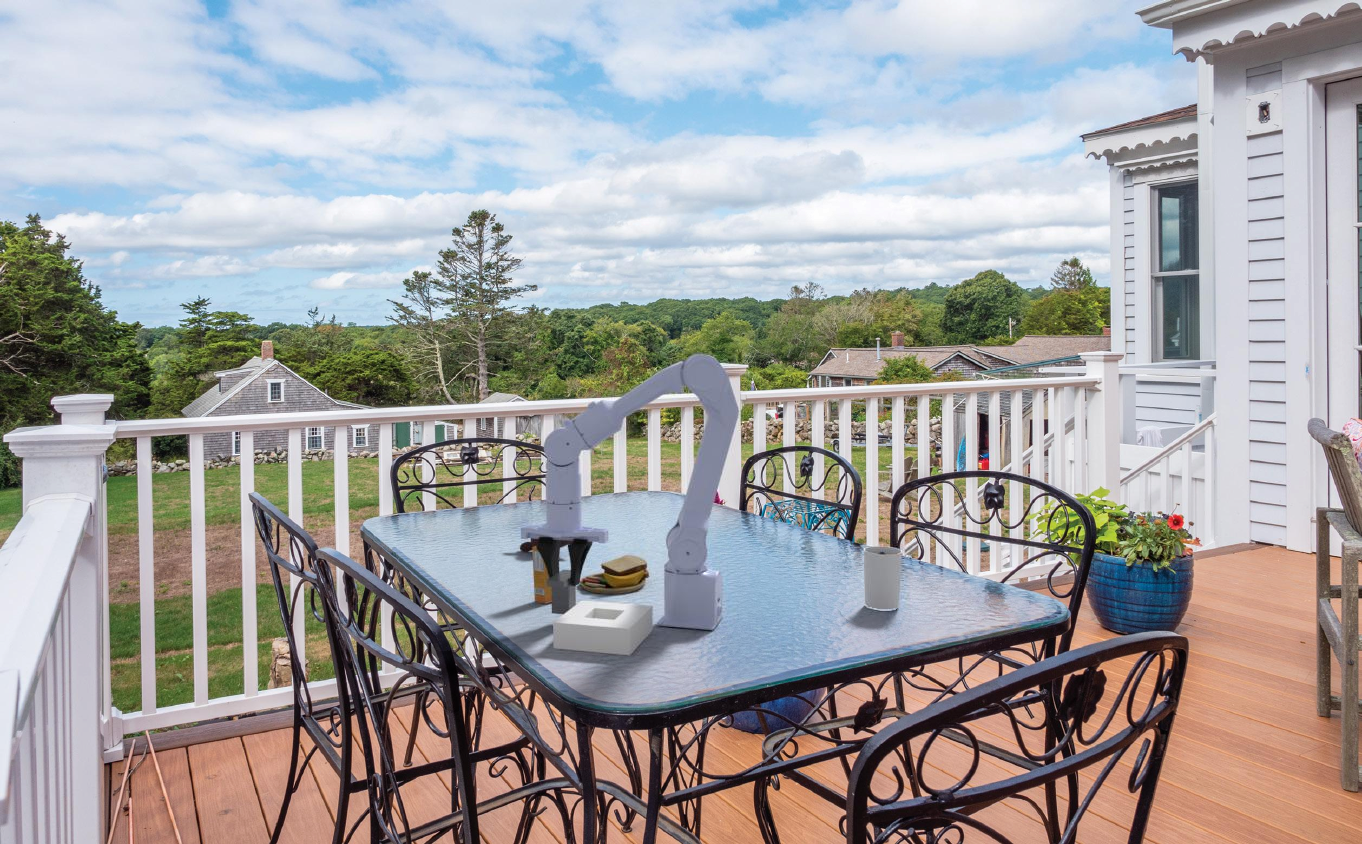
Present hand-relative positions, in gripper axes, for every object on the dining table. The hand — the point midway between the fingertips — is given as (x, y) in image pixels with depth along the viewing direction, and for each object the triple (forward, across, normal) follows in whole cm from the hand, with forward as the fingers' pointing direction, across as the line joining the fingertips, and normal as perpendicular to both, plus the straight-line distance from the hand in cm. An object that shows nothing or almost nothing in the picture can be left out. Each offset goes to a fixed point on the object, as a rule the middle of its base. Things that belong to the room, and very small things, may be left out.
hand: (565, 583), depth 147 cm
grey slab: (+4, 0, -1) cm, 4 cm away
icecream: (+7, -22, +45) cm, 50 cm away
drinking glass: (+7, +50, +23) cm, 55 cm away
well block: (+7, +9, -6) cm, 13 cm away
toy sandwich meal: (+7, 0, +24) cm, 26 cm away
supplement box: (+7, -8, +11) cm, 15 cm away
